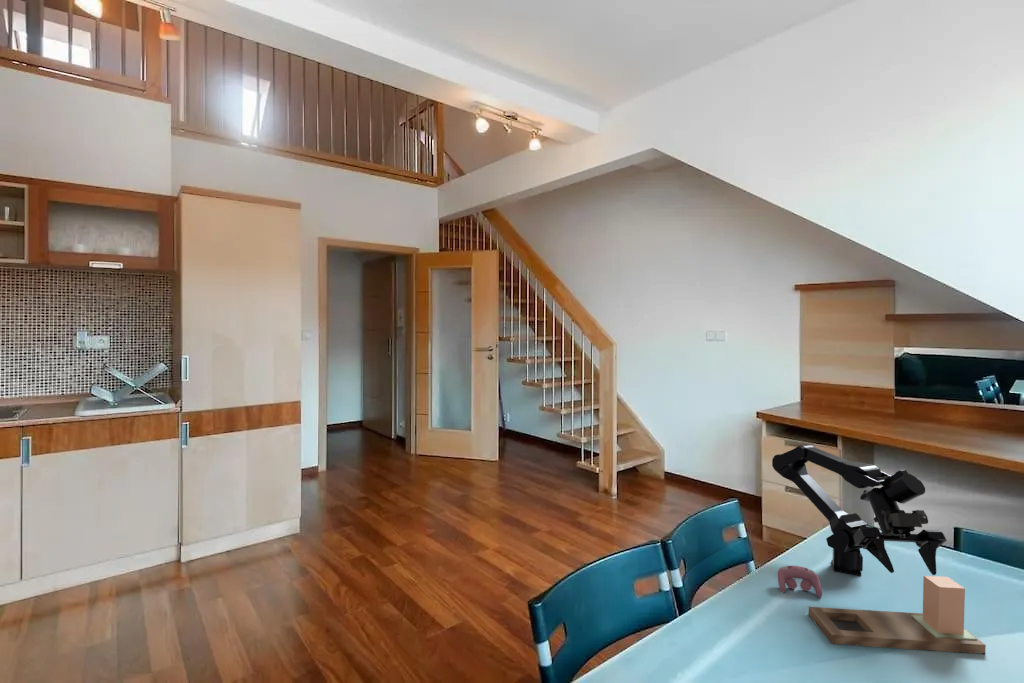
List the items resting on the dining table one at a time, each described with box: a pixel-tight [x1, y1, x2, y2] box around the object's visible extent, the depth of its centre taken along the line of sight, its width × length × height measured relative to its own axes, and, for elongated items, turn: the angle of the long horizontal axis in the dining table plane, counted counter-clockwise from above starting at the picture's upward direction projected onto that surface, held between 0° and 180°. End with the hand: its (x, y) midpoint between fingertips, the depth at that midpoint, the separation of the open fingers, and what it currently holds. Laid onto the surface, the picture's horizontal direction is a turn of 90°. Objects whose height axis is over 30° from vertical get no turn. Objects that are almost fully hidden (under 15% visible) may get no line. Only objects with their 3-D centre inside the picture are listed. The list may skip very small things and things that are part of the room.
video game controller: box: [777, 565, 823, 599], centre depth 132 cm, size 10×5×7 cm, turn 72°
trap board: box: [808, 606, 986, 654], centre depth 113 cm, size 30×11×2 cm, turn 83°
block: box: [922, 575, 966, 634], centre depth 111 cm, size 5×5×10 cm
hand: (913, 573), depth 121 cm, fingers open, 9 cm apart
